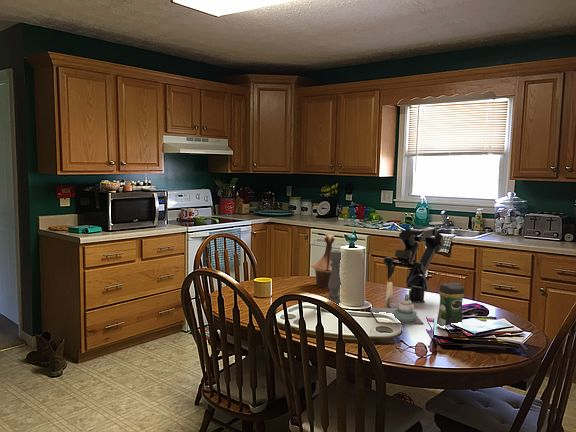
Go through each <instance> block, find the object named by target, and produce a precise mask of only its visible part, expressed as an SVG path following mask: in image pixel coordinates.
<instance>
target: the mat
mask: <svg viewBox="0 0 576 432" xmlns="http://www.w3.org/2000/svg"><path fill="white" fill-rule="evenodd" d="M370 308H371V309H370V310H369V311H370V312H375V313H379V312H386V313H392V314H394V313H395V310H397V308H386V307H385V308H384V307H383V308H382V307H370ZM400 322H401V321H400ZM401 324H405V325H407V324H408V325H424V322H423V320H422V319H420V318H419V316H418V315H417V314H416V321H415V322H401ZM401 324H400V325H401Z"/></svg>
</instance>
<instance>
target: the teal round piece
mask: <svg viewBox="0 0 576 432" xmlns="http://www.w3.org/2000/svg"><path fill="white" fill-rule="evenodd" d="M396 309H397V308H396ZM416 315H417V312H416V311H415V310H413V313H411V314H405V313H401V312H398V309H397V310H395V313H394V316H395V318H397V319H398V320H399V321H401V322H415V321H416Z"/></svg>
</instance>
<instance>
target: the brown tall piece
mask: <svg viewBox="0 0 576 432" xmlns="http://www.w3.org/2000/svg"><path fill="white" fill-rule="evenodd" d="M324 236H325V237H323V239H324V241H325V243H326V247H325V252H324V253H323V255H322V257H321V258H320V259H319V260H318V261H316V262H315V263H313V264H311V266H310V267H311V268H313V269H314V271H315V285H316V286H317V287H320V288H323V289H324V288H325V289H329V287H328V283H329V279H330V276H331V268H332V267H331V266H330V264H331V263H332V262H331V258H330V251H331V250H333V246H332V245H333V243H334V242H335V241H336V238H335V235H334V234H331V233H329V234H324Z"/></svg>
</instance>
